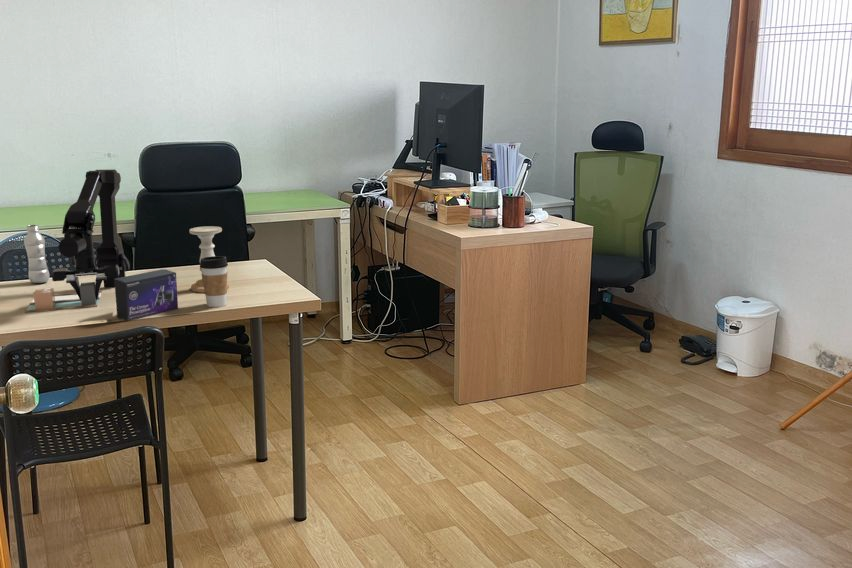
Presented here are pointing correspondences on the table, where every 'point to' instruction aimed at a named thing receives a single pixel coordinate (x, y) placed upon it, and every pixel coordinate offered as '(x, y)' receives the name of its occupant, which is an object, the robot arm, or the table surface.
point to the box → (146, 294)
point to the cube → (44, 298)
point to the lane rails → (61, 302)
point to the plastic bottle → (36, 255)
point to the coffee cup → (215, 280)
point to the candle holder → (205, 249)
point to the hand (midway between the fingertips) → (89, 299)
